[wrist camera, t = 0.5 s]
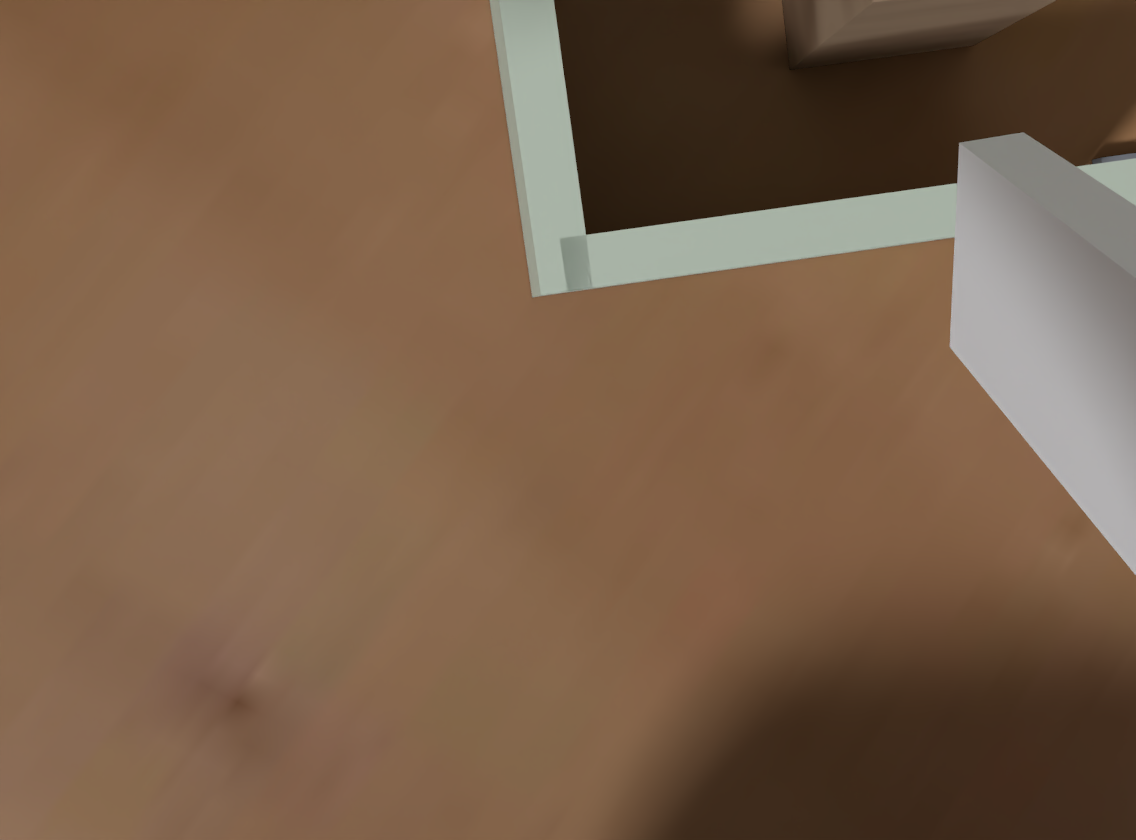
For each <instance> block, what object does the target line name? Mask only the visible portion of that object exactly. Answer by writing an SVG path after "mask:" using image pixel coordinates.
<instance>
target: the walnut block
mask: <svg viewBox="0 0 1136 840" xmlns="http://www.w3.org/2000/svg"><path fill="white" fill-rule="evenodd" d="M1054 1H1056V0H782V6H783V15H784V23H785V32H786V41H787V50H788V59H789V68H790V70H794V69H802V68H809V67H817V66H824V65H832V64H839V63H847V62H854V61H862V60H869V59H877V58H884V57H892V56H899V55H907V54H914V53H922V52H929V51H937V50H944V49H952V48H959V47H967V46H974V45H975V44H977V43H979V42H981V41H983V40H985V39H986V38H988V37H990V36H992V35H994V34H996V33H997V32H999V31H1001V30H1003V29H1005V28H1006V27H1008V26H1010V25H1012V24H1014V23H1016V22H1017V21H1019V20H1021V19H1023V18H1025V17H1027V16H1028V15H1030V14H1032V13H1034V12H1036V11H1037V10H1039V9H1041V8H1043V7H1045V6H1047V5H1048V4H1050V3H1052V2H1054Z"/></svg>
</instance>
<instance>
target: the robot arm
mask: <svg viewBox="0 0 1136 840" xmlns="http://www.w3.org/2000/svg"><path fill="white" fill-rule="evenodd" d="M950 348H951V349H952V350H953V351H954V353H955V354H956V355H957V356H958V358H959V359H960V360H961V361H962V363H963V364H964V365H965V366H966V367H967V369H968V370H969V371H970V372H971V374H972V375H973V376H974V377H975V378H976V380H977V381H978V382H979V383H980V385H981V386H982V387H983V388H984V390H985V391H986V392H987V393H988V394H989V396H990V397H991V398H992V399H993V401H994V402H995V403H996V404H997V405H998V407H999V408H1000V409H1001V410H1002V412H1003V413H1004V414H1005V415H1006V417H1007V418H1008V419H1009V420H1010V421H1011V423H1012V424H1013V425H1014V426H1015V428H1016V429H1017V430H1018V431H1019V432H1020V434H1021V435H1022V436H1023V437H1024V439H1025V440H1026V441H1027V442H1028V444H1029V445H1030V446H1031V447H1032V448H1033V450H1034V451H1035V452H1036V453H1037V455H1038V456H1039V457H1040V458H1041V459H1042V461H1043V462H1044V463H1045V464H1046V466H1047V467H1048V468H1049V469H1050V471H1051V472H1052V473H1053V474H1054V475H1055V477H1056V478H1057V479H1058V480H1059V482H1060V483H1061V484H1062V485H1063V486H1064V488H1065V489H1066V490H1067V491H1068V493H1069V494H1070V495H1071V496H1072V498H1073V499H1074V500H1075V501H1076V502H1077V504H1078V505H1079V506H1080V507H1081V509H1082V510H1083V511H1084V512H1085V514H1086V515H1087V516H1088V517H1089V518H1090V520H1091V521H1092V522H1093V523H1094V525H1095V526H1096V527H1097V528H1098V529H1099V531H1100V532H1101V533H1102V534H1103V536H1104V537H1105V538H1106V539H1107V541H1108V542H1109V543H1110V544H1111V545H1112V547H1113V548H1114V549H1115V550H1116V552H1117V553H1118V554H1119V555H1120V556H1121V558H1122V559H1123V560H1124V561H1125V563H1126V564H1127V565H1128V566H1129V568H1130V569H1131V570H1132V571H1133V572H1134V574H1135V575H1136V206H1135V205H1134V204H1132V203H1131V202H1129V201H1128V200H1126V199H1125V198H1123V197H1122V196H1120V195H1119V194H1117V193H1115V192H1114V191H1112V190H1111V189H1109V188H1108V187H1106V186H1105V185H1103V184H1102V183H1100V182H1099V181H1097V180H1096V179H1094V178H1093V177H1091V176H1090V175H1088V174H1086V173H1085V172H1083V171H1082V170H1080V169H1079V168H1077V167H1076V166H1074V165H1073V164H1071V163H1070V162H1068V161H1067V160H1065V159H1064V158H1062V157H1060V156H1059V155H1057V154H1056V153H1054V152H1053V151H1051V150H1050V149H1048V148H1047V147H1045V146H1044V145H1042V144H1041V143H1039V142H1038V141H1036V140H1035V139H1033V138H1031V137H1030V136H1028V135H1027V134H1025V133H1024V132H1022V133H1016V134H1010V135H1004V136H997V137H991V138H985V139H979V140H973V141H967V142H961V143H959V158H958V179H957V201H956V223H955V244H954V266H953V288H952V309H951V331H950Z"/></svg>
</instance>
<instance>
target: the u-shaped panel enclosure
mask: <svg viewBox="0 0 1136 840" xmlns="http://www.w3.org/2000/svg"><path fill="white" fill-rule="evenodd" d="M490 7H491V14H492V21H493V27H494V34H495V41H496V48H497V55H498V62H499V69H500V76H501V83H502V90H503V97H504V104H505V111H506V118H507V125H508V132H509V139H510V146H511V153H512V160H513V166H514V173H515V180H516V187H517V194H518V201H519V208H520V215H521V222H522V229H523V236H524V243H525V250H526V257H527V264H528V271H529V278H530V285H531V292H532V297H538V296H545V295H552V294H559V293H566V292H573V291H580V290H587V289H595V288H602V287H609V286H616V285H623V284H630V283H637V282H644V281H651V280H658V279H665V278H672V277H679V276H686V275H693V274H700V273H707V272H714V271H721V270H729V269H736V268H743V267H750V266H757V265H764V264H771V263H778V262H785V261H792V260H799V259H806V258H813V257H820V256H827V255H834V254H841V253H848V252H856V251H863V250H870V249H877V248H884V247H891V246H898V245H905V244H912V243H919V242H926V241H933V240H940V239H947V238H954V237H955V223H956V201H957V183H955V184H948V185H941V186H933V187H926V188H919V189H912V190H905V191H898V192H890V193H883V194H876V195H869V196H862V197H854V198H847V199H840V200H833V201H826V202H819V203H811V204H804V205H797V206H790V207H783V208H776V209H768V210H761V211H754V212H747V213H740V214H732V215H725V216H718V217H711V218H704V219H697V220H689V221H682V222H675V223H668V224H661V225H654V226H646V227H639V228H632V229H625V230H618V231H610V232H603V233H596V234H589V235H586V231H585V224H584V217H583V210H582V202H581V195H580V188H579V180H578V173H577V166H576V158H575V151H574V144H573V137H572V129H571V122H570V115H569V107H568V100H567V93H566V85H565V78H564V71H563V64H562V56H561V49H560V42H559V34H558V27H557V20H556V13H555V5H554V0H490ZM1077 168H1079V169H1080V170H1082V171H1083V172H1085V173H1086V174H1088V175H1090V176H1091V177H1093V178H1094V179H1096V180H1097V181H1099V182H1100V183H1102V184H1103V185H1105V186H1106V187H1108V188H1109V189H1111V190H1112V191H1114V192H1115V193H1117V194H1119V195H1120V196H1122V197H1123V198H1125V199H1126V200H1128V201H1129V202H1131V203H1132V204H1134V205H1135V206H1136V158H1134V159H1127V160H1120V161H1113V162H1106V163H1098V164H1091V165H1084V166H1077Z"/></svg>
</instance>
